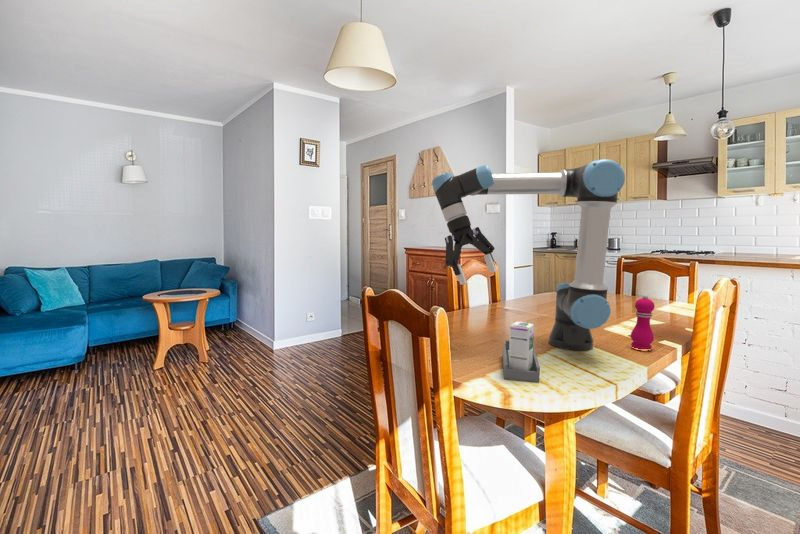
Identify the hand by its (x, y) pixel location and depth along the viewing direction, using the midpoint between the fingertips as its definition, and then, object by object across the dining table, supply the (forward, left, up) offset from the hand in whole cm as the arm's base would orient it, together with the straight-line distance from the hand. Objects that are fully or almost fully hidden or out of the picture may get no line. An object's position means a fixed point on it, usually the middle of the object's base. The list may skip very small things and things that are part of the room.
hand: (479, 278), depth 136 cm
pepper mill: (-57, -22, -26) cm, 67 cm away
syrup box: (-13, +15, -26) cm, 33 cm away
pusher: (-13, +8, -25) cm, 30 cm away
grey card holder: (-13, +10, -26) cm, 31 cm away
